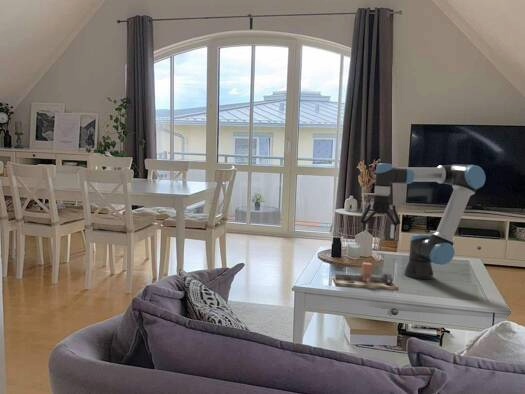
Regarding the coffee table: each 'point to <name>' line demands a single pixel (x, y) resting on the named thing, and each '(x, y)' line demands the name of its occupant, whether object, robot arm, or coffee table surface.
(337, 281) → the bolt board
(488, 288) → the coffee table surface
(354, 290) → the coffee table surface
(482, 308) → the coffee table surface
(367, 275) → the sliding head
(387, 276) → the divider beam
